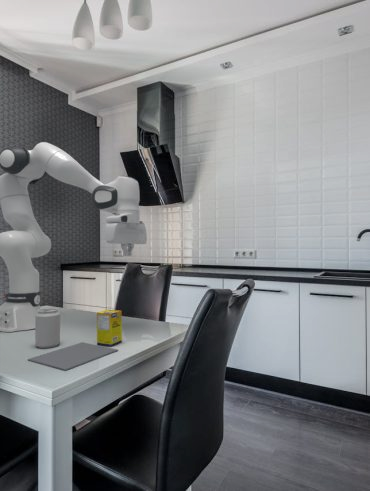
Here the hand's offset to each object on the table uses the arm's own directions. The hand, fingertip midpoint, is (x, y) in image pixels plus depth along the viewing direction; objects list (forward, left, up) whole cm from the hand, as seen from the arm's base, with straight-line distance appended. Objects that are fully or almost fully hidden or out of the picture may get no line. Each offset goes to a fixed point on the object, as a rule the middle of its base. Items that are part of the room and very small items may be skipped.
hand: (127, 256), depth 126 cm
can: (-20, -20, -29) cm, 41 cm away
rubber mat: (-6, -28, -29) cm, 41 cm away
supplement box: (-1, -14, -29) cm, 32 cm away
